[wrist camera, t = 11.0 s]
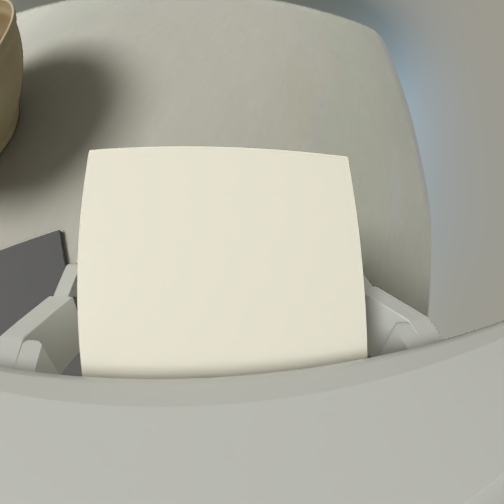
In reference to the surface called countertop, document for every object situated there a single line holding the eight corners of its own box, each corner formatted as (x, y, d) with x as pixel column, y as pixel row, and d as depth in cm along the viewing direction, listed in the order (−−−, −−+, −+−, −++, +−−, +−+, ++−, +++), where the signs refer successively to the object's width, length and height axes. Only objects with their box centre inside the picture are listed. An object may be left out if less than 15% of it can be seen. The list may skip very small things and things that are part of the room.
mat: (106, 406, 18) (105, 407, 18) (-16, 421, 15) (-19, 422, 15) (61, 231, 20) (59, 230, 19) (-52, 273, 17) (-55, 272, 16)
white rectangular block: (277, 362, 14) (367, 410, 6) (140, 369, 13) (90, 433, 5) (270, 230, 15) (347, 157, 8) (137, 231, 14) (89, 150, 6)
